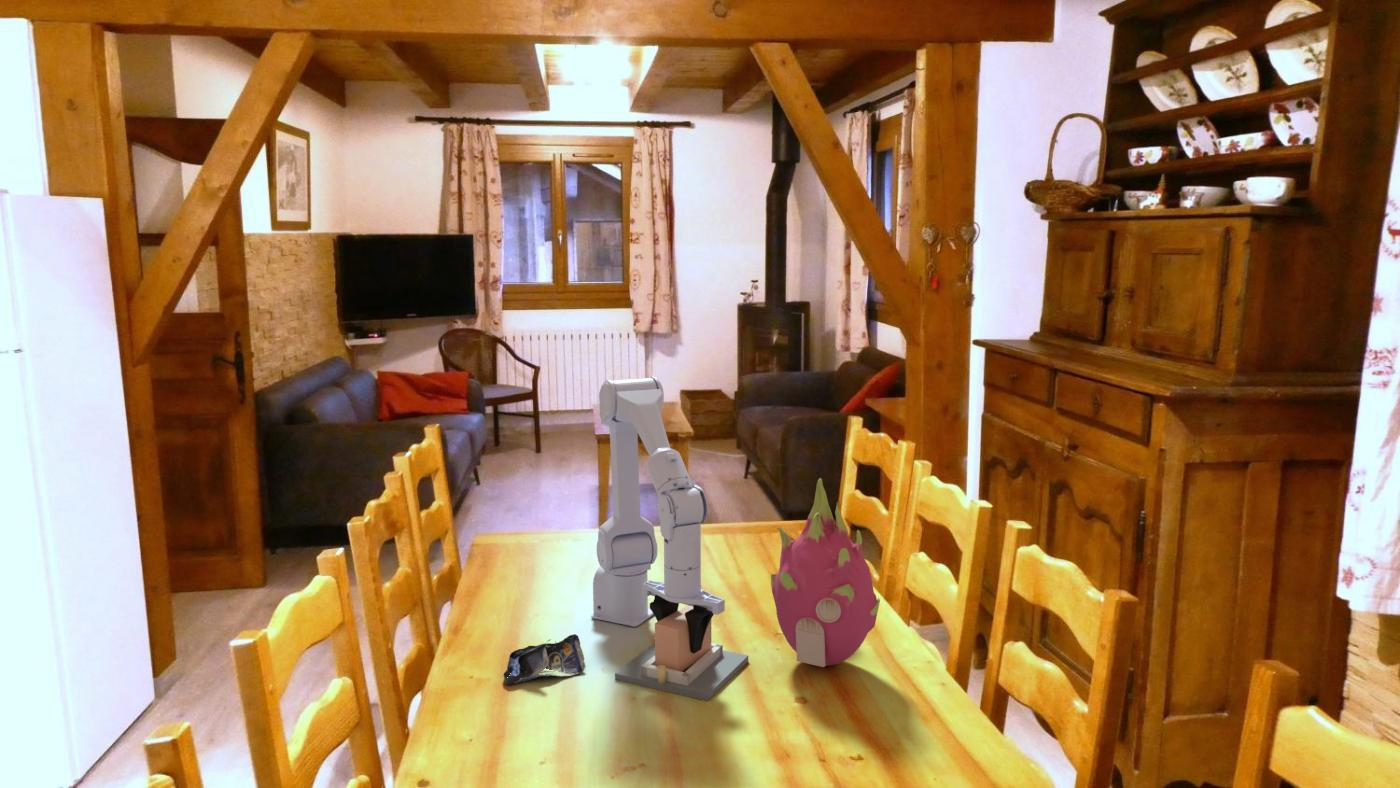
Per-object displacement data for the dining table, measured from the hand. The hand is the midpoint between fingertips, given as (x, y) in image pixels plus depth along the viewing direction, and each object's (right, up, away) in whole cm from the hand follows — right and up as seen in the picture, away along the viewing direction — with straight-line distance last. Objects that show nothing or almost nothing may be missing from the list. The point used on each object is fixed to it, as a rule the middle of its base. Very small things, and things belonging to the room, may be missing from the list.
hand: (682, 646), depth 152 cm
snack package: (-22, -5, 0) cm, 23 cm away
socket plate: (0, -4, +1) cm, 4 cm away
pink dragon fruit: (+22, -4, +3) cm, 23 cm away
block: (0, -2, +1) cm, 2 cm away
